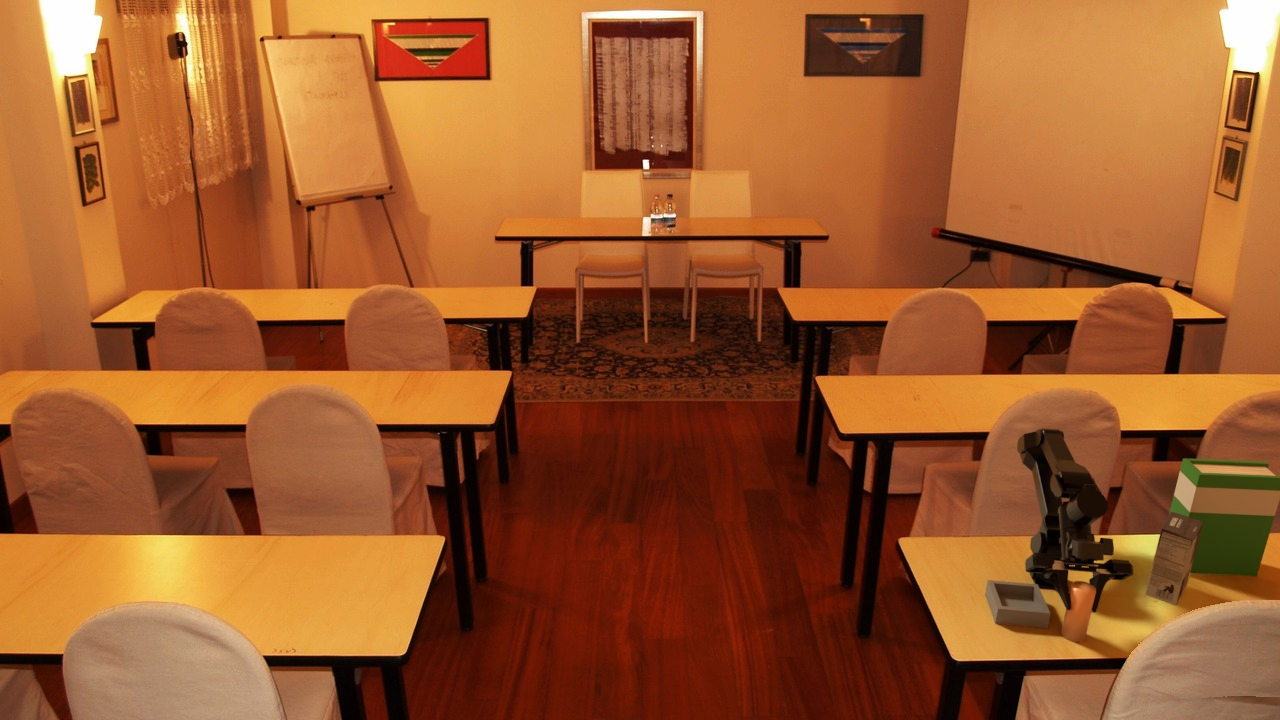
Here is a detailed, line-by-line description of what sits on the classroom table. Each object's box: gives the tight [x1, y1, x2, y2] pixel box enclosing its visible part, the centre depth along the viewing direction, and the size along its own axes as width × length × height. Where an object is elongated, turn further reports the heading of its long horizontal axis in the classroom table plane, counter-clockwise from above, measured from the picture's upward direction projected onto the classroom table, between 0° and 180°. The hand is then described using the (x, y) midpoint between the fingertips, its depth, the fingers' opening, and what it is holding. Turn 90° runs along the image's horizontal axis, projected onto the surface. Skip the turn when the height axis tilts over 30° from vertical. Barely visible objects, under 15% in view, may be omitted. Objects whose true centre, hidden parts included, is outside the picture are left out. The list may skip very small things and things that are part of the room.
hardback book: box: [1168, 457, 1280, 577], centre depth 213 cm, size 18×7×24 cm, turn 87°
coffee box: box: [1145, 512, 1203, 606], centre depth 205 cm, size 9×6×16 cm
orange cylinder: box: [1060, 580, 1096, 643], centre depth 191 cm, size 4×4×11 cm
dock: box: [984, 579, 1051, 629], centre depth 199 cm, size 10×10×4 cm
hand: (1081, 611), depth 189 cm, fingers closed on orange cylinder, 4 cm apart
